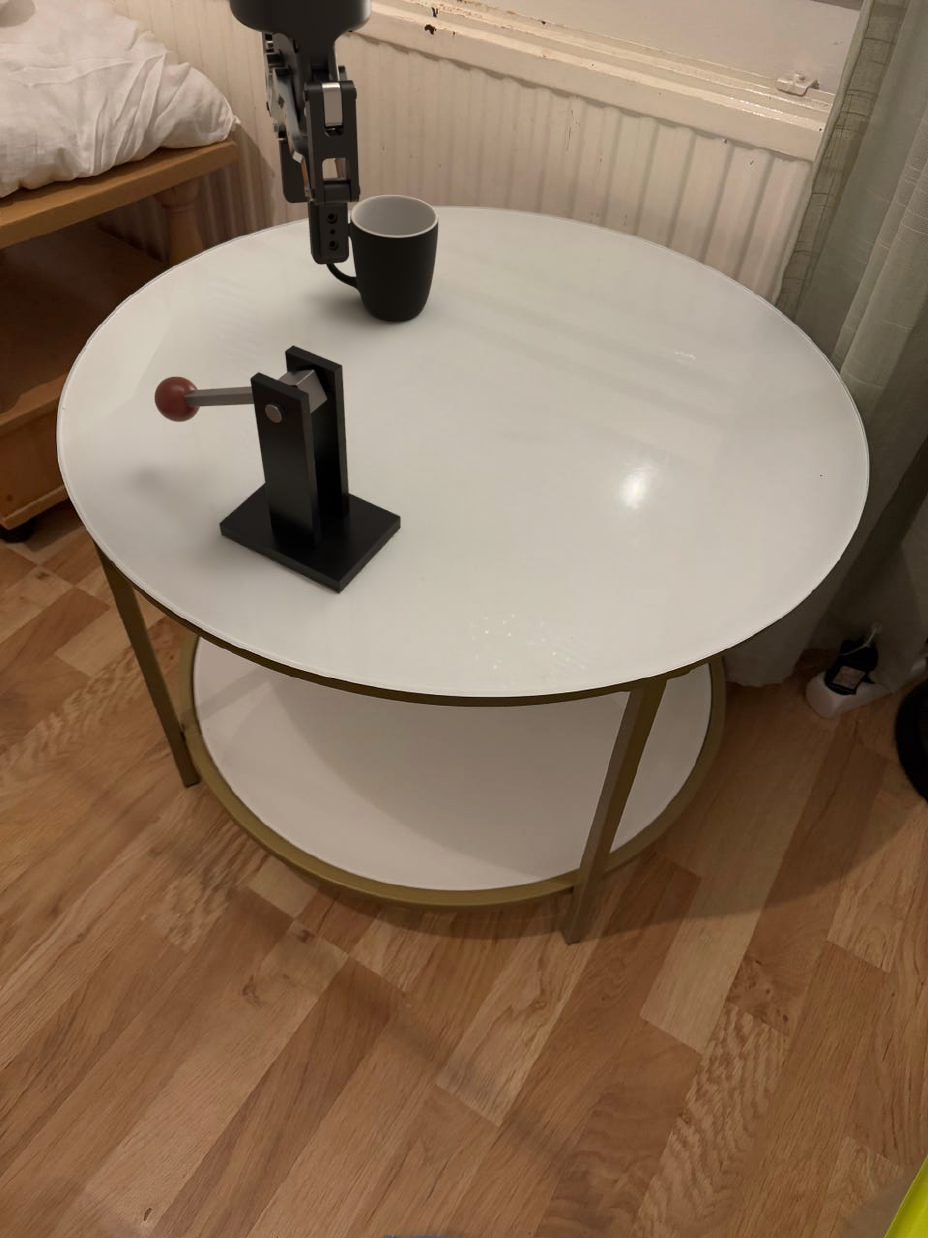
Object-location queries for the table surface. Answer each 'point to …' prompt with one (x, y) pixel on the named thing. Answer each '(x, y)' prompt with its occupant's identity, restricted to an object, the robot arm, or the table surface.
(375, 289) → the mug
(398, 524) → the bracket
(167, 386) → the lever
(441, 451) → the table surface
